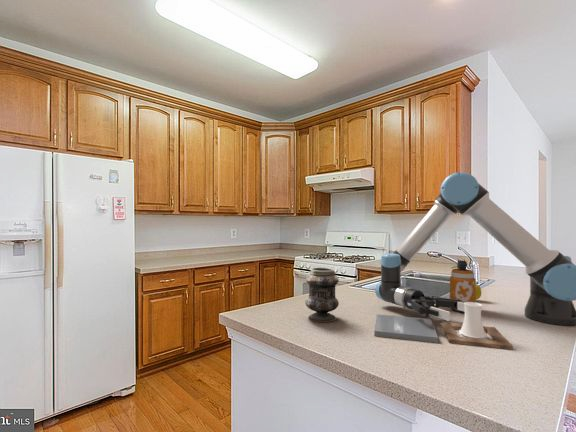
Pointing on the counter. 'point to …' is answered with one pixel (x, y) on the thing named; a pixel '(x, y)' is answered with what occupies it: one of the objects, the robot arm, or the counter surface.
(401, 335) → the slate board
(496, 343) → the holder frame
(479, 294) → the lemon
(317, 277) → the apothecary jar
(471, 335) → the vase
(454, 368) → the counter surface
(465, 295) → the canister
